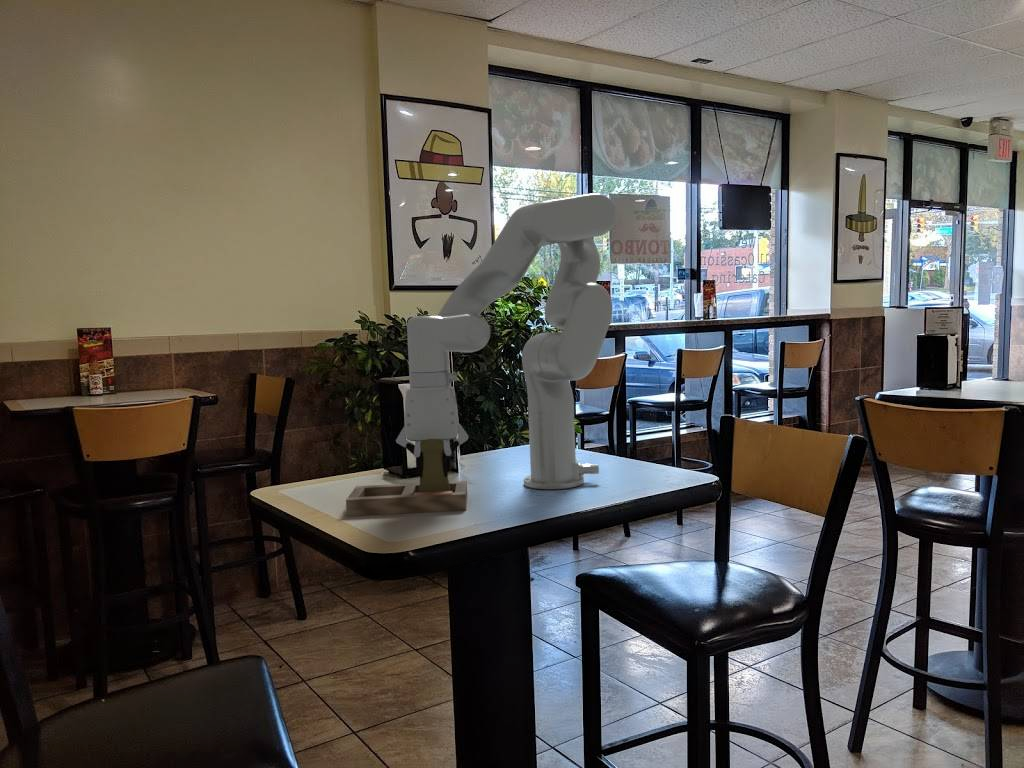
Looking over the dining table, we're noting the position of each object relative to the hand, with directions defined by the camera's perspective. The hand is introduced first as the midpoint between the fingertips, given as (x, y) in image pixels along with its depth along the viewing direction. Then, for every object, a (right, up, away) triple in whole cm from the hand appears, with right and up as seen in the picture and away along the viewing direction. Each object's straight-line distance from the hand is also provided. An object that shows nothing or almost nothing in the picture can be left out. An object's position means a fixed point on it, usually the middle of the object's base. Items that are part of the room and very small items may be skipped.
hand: (434, 475), depth 153 cm
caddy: (-5, -6, 0) cm, 8 cm away
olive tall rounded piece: (0, -3, 0) cm, 3 cm away
